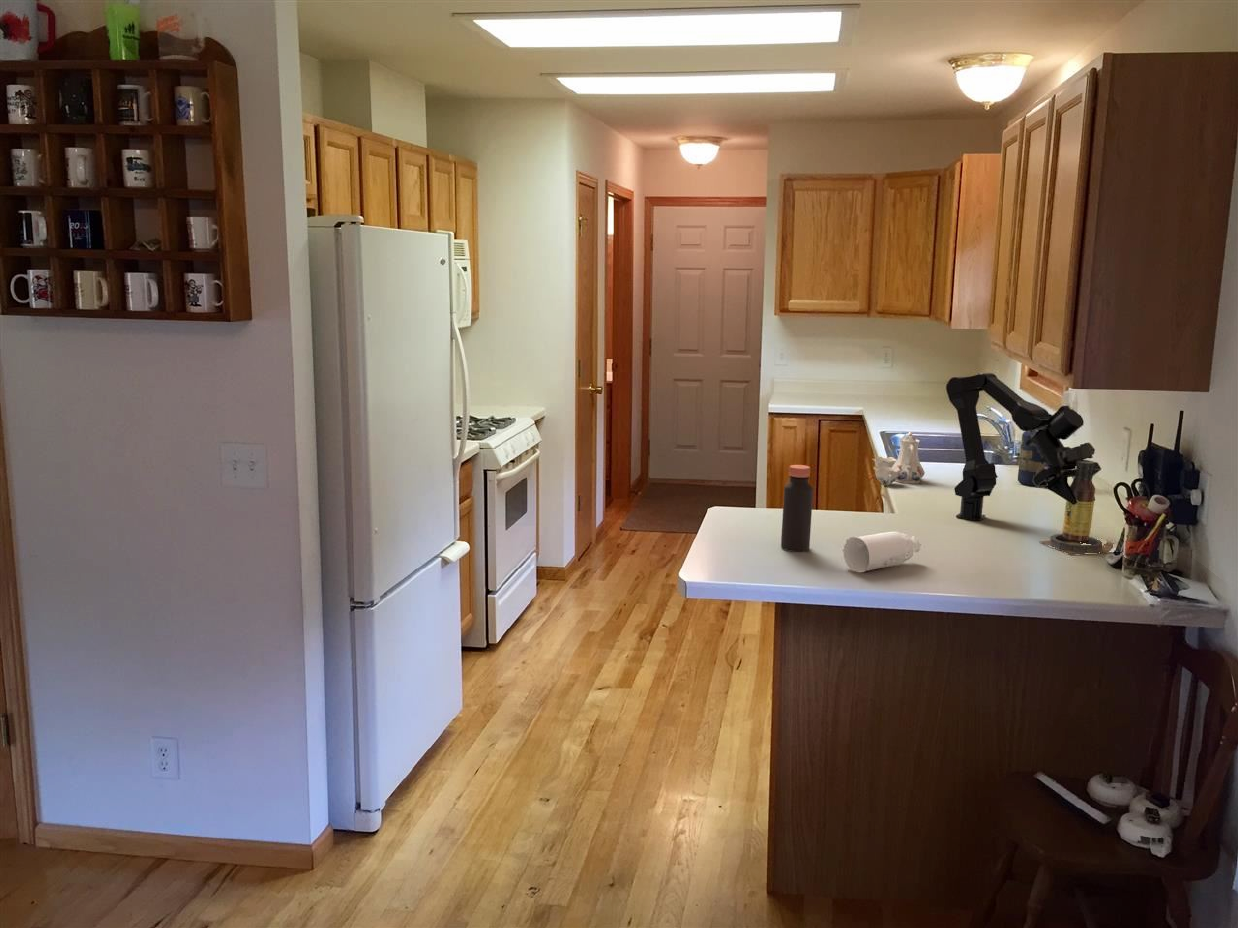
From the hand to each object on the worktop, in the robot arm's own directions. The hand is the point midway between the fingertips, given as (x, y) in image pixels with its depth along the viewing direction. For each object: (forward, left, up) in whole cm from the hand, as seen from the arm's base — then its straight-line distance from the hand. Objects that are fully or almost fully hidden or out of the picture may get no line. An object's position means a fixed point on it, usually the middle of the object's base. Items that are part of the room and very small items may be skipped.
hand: (1084, 502), depth 256 cm
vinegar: (+44, -56, -12) cm, 73 cm away
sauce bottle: (-1, -1, -10) cm, 10 cm away
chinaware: (-55, -65, -12) cm, 86 cm away
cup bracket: (-3, +1, -12) cm, 12 cm away
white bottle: (+47, -34, -12) cm, 59 cm away
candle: (-78, -28, -12) cm, 83 cm away
